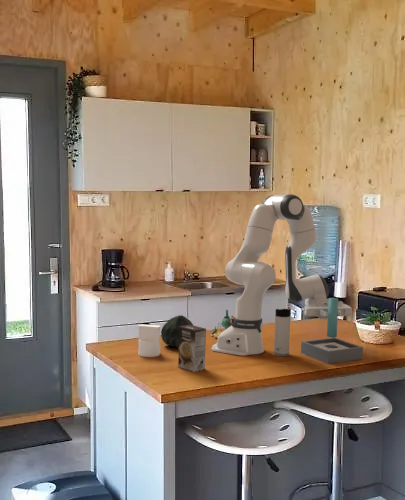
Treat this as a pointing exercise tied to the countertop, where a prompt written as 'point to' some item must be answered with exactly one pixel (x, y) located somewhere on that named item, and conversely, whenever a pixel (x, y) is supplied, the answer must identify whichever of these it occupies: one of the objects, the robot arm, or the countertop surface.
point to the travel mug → (282, 332)
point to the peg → (332, 317)
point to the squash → (173, 330)
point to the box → (331, 351)
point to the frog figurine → (224, 323)
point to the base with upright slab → (149, 340)
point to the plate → (331, 346)
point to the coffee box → (192, 347)
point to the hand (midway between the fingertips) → (333, 314)
